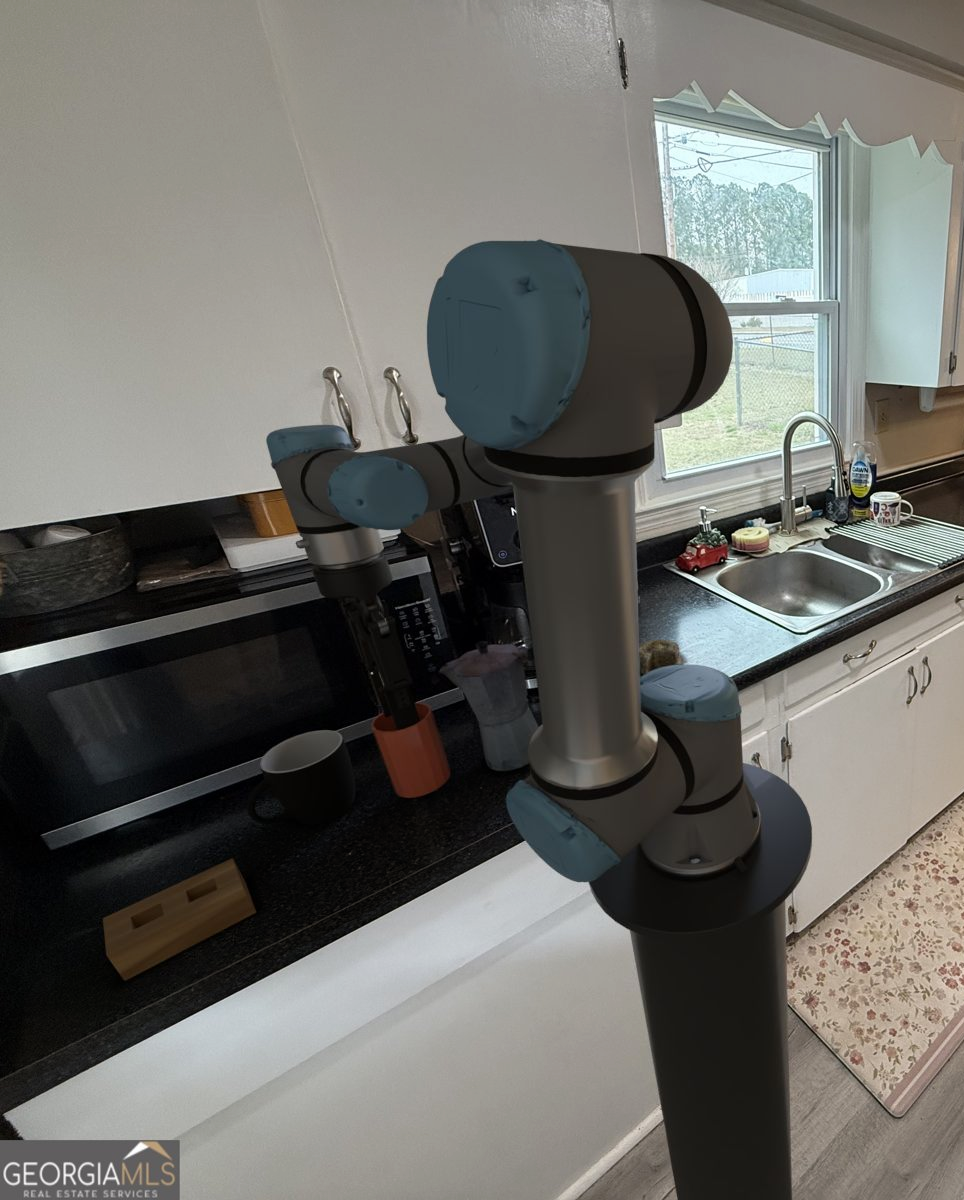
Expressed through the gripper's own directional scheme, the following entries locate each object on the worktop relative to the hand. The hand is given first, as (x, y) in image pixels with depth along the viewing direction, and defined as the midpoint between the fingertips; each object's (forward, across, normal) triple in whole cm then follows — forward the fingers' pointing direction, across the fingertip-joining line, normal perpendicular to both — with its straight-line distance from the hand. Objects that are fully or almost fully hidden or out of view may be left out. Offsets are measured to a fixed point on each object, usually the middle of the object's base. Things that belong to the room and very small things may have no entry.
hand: (402, 718), depth 84 cm
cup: (+11, 0, 0) cm, 11 cm away
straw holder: (+13, +4, -26) cm, 29 cm away
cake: (+13, -4, +44) cm, 46 cm away
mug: (+13, -6, -12) cm, 19 cm away
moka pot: (+13, +2, +13) cm, 18 cm away
